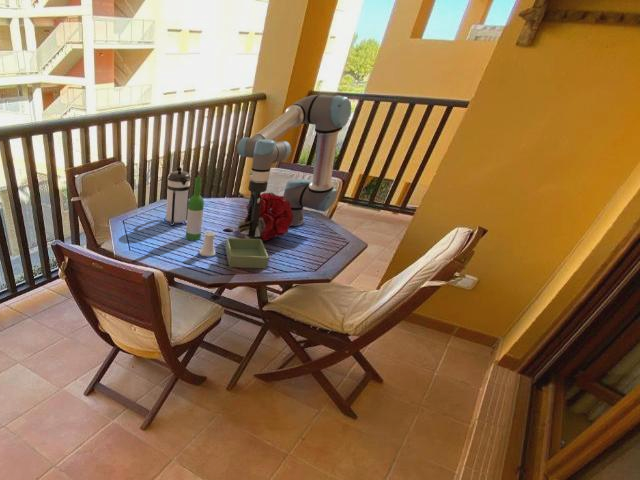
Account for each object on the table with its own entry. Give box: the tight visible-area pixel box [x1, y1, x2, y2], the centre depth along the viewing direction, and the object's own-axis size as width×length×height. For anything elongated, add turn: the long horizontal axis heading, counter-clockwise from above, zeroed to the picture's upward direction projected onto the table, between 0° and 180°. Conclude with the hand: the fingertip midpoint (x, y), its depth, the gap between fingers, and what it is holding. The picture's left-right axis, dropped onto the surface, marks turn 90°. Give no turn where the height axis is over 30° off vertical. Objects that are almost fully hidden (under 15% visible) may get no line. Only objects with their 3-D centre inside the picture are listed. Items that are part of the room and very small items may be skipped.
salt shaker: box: [199, 231, 216, 258], centre depth 184 cm, size 8×8×10 cm
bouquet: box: [238, 192, 294, 242], centre depth 199 cm, size 22×24×30 cm
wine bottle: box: [185, 177, 205, 241], centre depth 195 cm, size 8×8×30 cm
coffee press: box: [163, 166, 192, 227], centre depth 216 cm, size 17×16×30 cm
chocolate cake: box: [237, 218, 265, 238], centre depth 175 cm, size 10×7×12 cm
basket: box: [224, 237, 270, 269], centre depth 182 cm, size 22×17×5 cm
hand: (249, 232), depth 176 cm, fingers closed on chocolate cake, 9 cm apart
